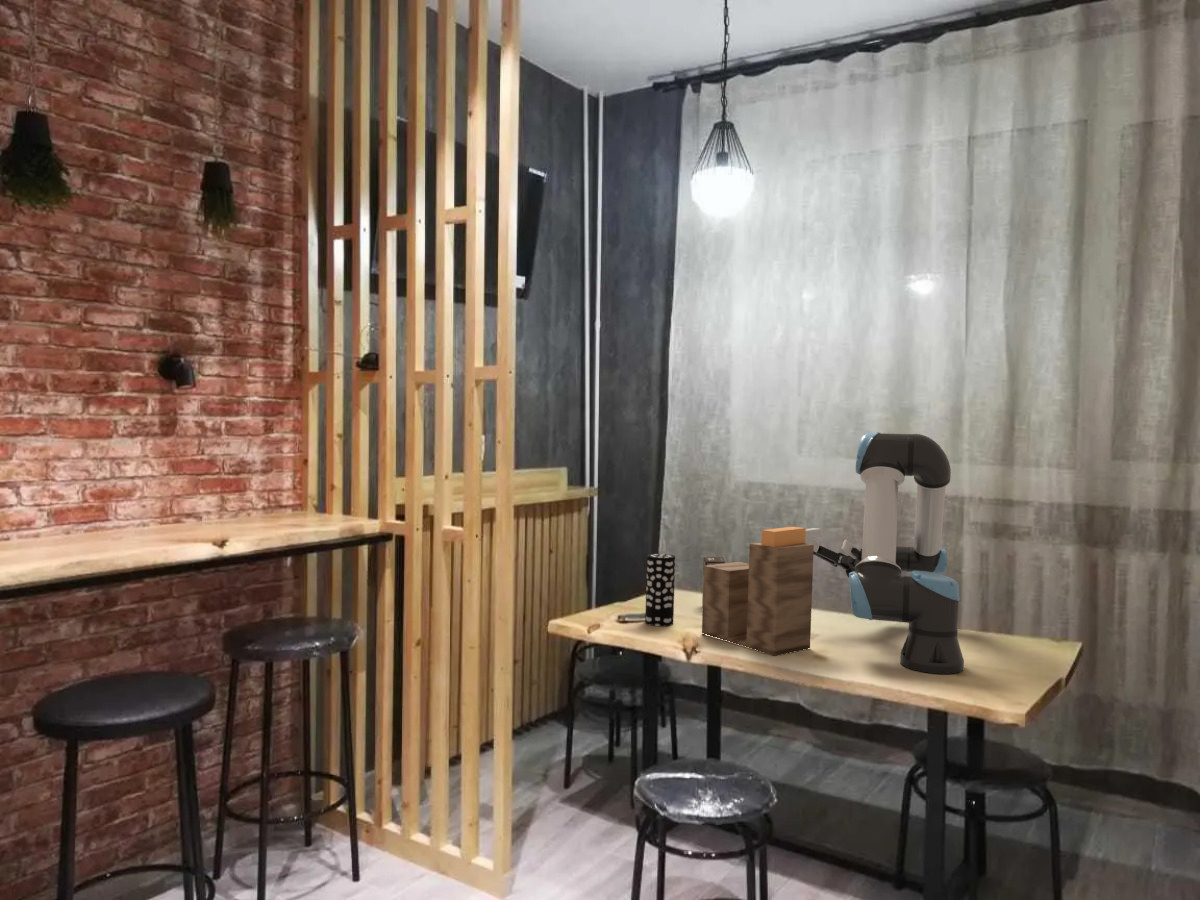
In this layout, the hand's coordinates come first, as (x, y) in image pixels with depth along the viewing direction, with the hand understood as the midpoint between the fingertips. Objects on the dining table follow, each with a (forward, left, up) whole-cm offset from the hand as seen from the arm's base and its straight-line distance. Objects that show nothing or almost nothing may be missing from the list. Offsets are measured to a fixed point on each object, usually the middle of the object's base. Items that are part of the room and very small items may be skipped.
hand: (824, 540), depth 256 cm
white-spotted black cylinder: (+38, +26, -28) cm, 54 cm away
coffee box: (+44, -2, -28) cm, 52 cm away
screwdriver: (0, +12, 0) cm, 12 cm away
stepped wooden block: (+8, +18, -28) cm, 34 cm away
